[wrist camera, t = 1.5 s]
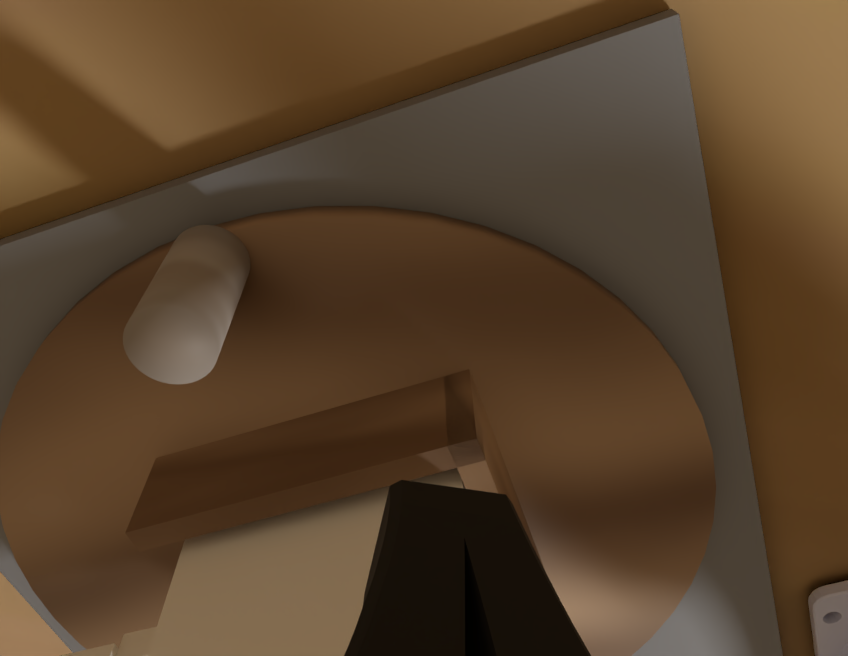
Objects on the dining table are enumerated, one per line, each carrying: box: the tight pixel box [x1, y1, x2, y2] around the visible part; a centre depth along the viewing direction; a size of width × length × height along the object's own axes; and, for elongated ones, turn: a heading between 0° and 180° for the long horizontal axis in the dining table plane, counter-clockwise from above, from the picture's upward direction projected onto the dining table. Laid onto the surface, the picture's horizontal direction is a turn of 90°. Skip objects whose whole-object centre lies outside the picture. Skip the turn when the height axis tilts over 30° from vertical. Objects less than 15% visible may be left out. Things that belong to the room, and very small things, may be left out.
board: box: [0, 9, 783, 656], centre depth 24 cm, size 30×20×1 cm, turn 19°
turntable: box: [0, 206, 716, 656], centre depth 19 cm, size 18×18×4 cm
